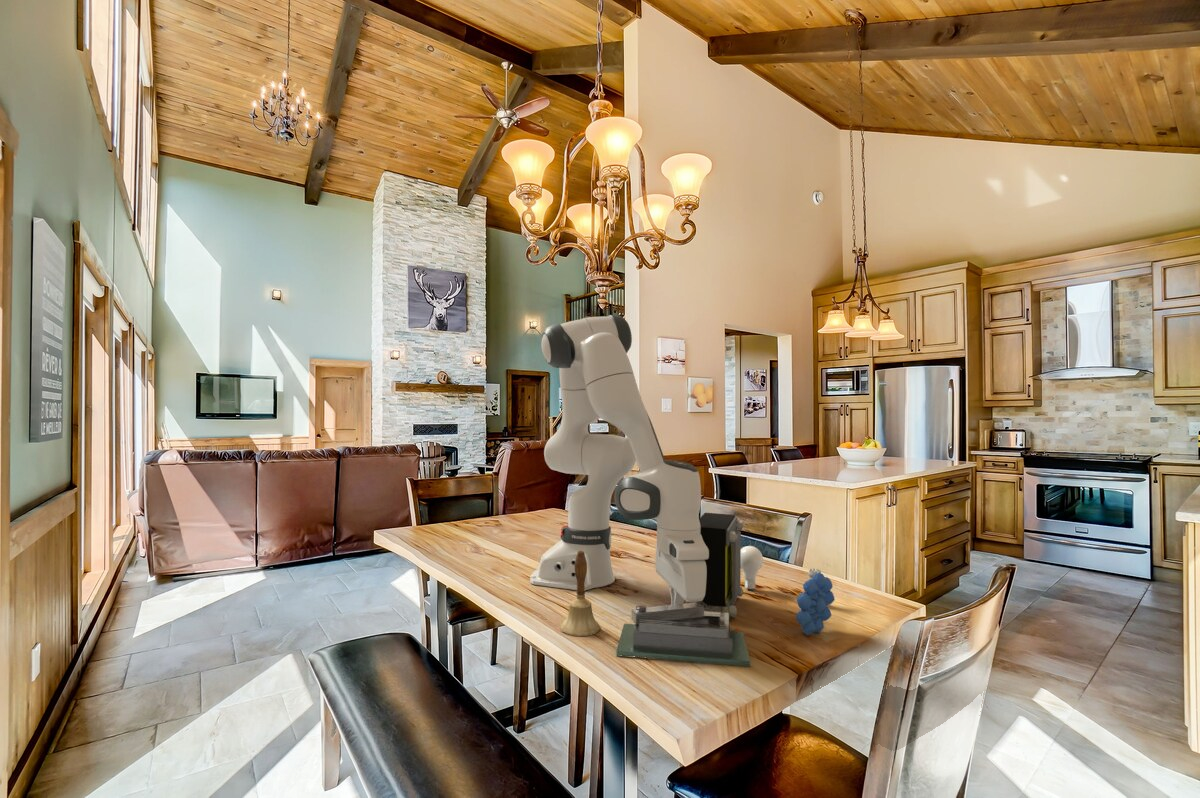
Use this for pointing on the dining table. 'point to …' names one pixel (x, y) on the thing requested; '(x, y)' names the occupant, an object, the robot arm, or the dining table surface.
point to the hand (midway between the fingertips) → (677, 608)
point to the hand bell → (580, 605)
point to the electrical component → (722, 560)
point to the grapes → (815, 603)
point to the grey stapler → (687, 639)
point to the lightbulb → (750, 565)
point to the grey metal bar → (668, 612)
